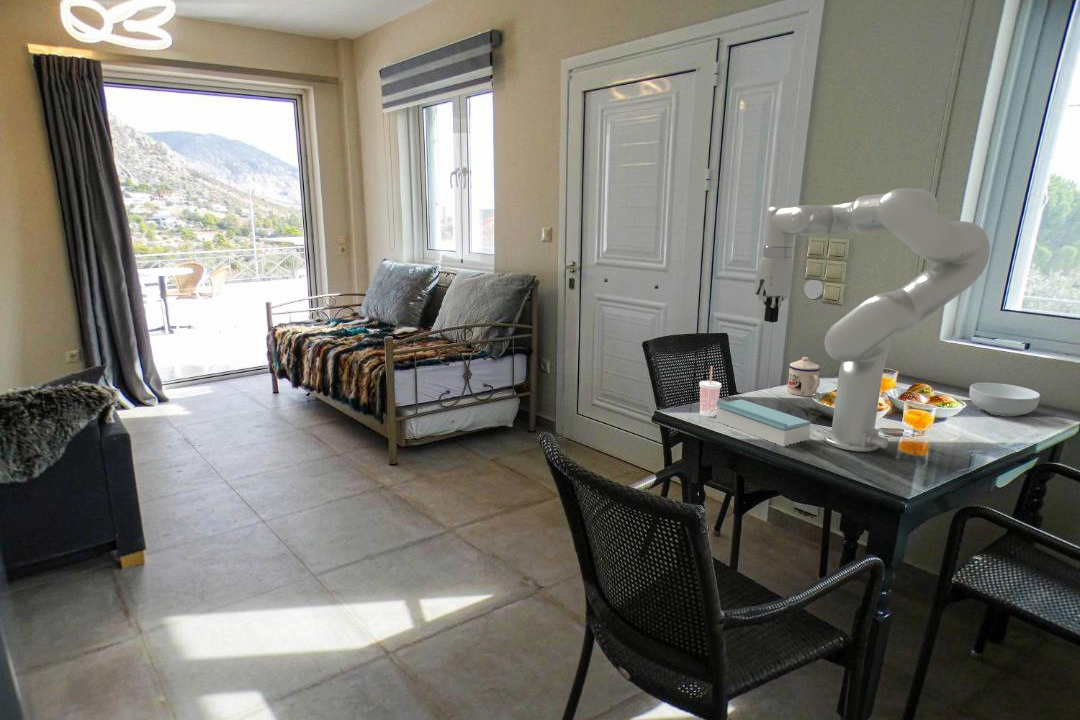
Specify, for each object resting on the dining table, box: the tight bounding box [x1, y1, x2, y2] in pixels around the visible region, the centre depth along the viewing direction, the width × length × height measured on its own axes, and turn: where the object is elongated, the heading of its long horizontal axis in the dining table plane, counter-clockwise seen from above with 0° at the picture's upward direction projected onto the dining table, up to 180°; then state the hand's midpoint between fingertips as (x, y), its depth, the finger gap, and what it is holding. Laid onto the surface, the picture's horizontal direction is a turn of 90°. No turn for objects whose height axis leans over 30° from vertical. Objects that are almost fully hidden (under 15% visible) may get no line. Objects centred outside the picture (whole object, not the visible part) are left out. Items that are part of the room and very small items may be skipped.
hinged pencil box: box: [715, 407, 812, 447], centre depth 170 cm, size 22×10×4 cm, turn 32°
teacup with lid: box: [786, 356, 821, 397], centre depth 202 cm, size 12×9×12 cm
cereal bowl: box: [968, 382, 1041, 417], centre depth 187 cm, size 17×17×7 cm
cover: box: [716, 399, 812, 430], centre depth 169 cm, size 22×10×1 cm, turn 32°
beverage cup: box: [698, 365, 722, 417], centre depth 181 cm, size 6×6×14 cm
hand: (770, 321), depth 175 cm, fingers closed
